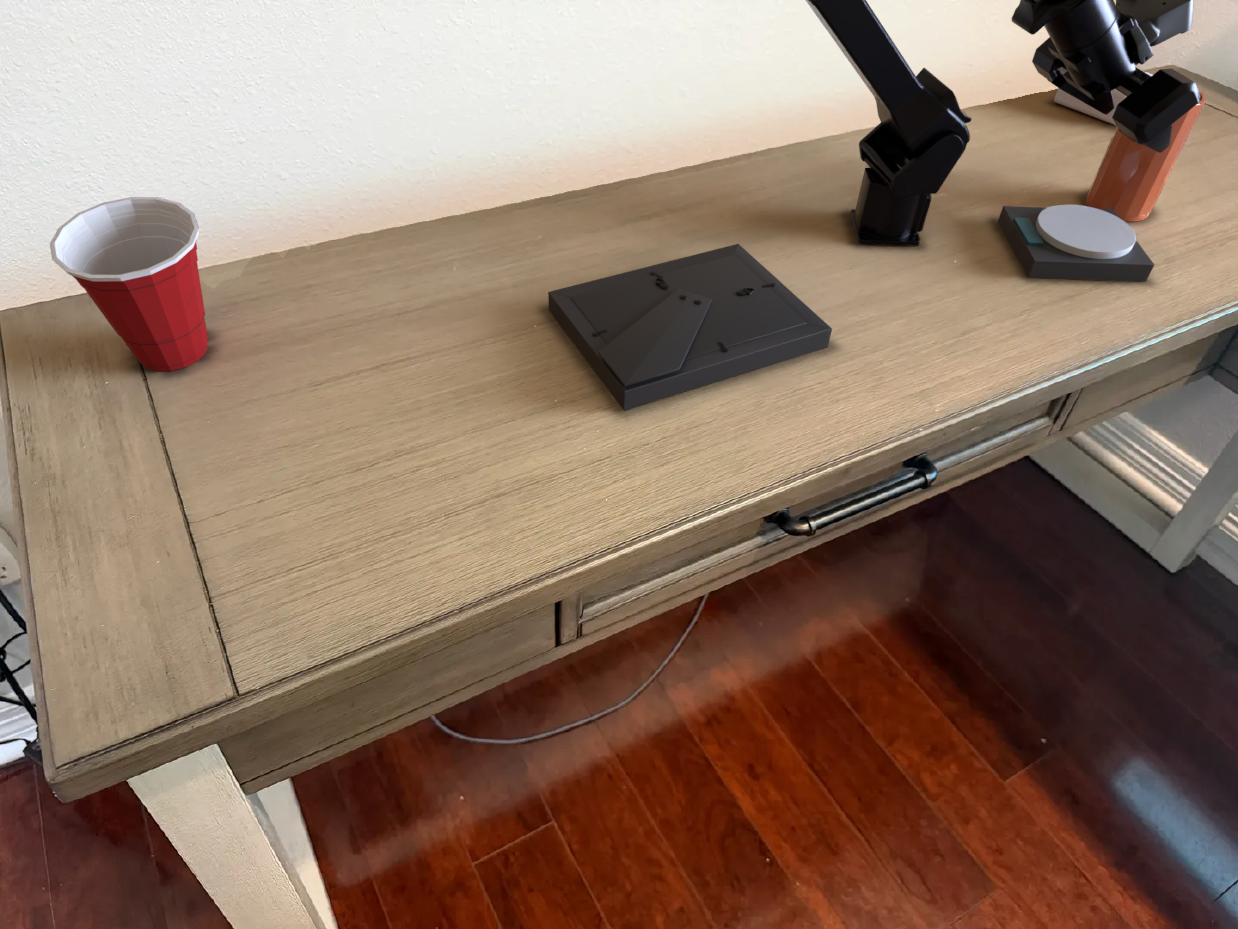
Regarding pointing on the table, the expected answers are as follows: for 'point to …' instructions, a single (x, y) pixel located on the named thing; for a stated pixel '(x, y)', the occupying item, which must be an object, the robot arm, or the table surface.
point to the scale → (1074, 243)
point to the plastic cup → (140, 275)
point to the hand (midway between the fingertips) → (1135, 129)
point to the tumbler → (1138, 170)
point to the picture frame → (685, 324)
